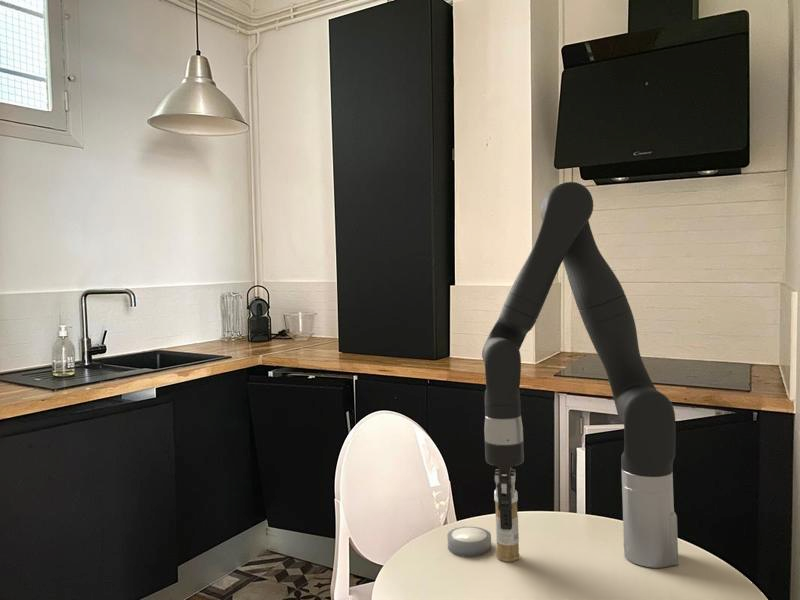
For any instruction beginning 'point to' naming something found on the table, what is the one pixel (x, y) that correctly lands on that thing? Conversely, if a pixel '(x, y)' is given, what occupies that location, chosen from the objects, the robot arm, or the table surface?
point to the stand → (469, 541)
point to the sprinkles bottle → (507, 533)
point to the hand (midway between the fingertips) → (506, 523)
